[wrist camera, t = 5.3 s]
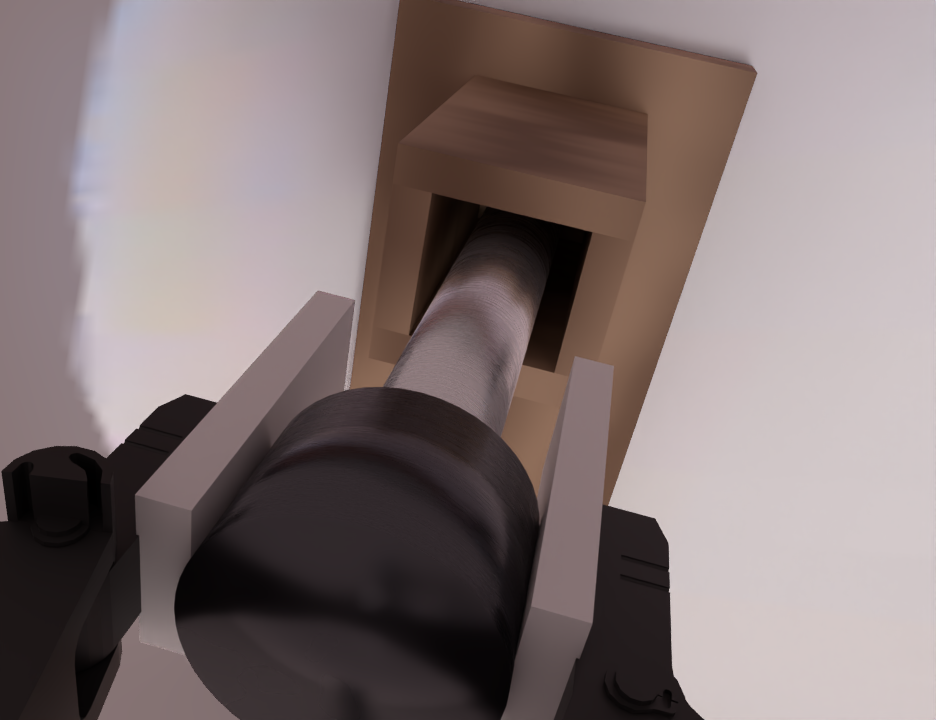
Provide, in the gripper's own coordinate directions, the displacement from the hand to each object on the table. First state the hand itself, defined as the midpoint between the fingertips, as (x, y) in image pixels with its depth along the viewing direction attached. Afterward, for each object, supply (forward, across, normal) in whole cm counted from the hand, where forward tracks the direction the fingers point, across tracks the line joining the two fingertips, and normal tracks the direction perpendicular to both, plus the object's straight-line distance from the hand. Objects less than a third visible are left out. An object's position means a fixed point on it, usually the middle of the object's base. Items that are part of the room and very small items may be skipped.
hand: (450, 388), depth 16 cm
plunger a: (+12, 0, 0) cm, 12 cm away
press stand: (+17, 0, -10) cm, 19 cm away
